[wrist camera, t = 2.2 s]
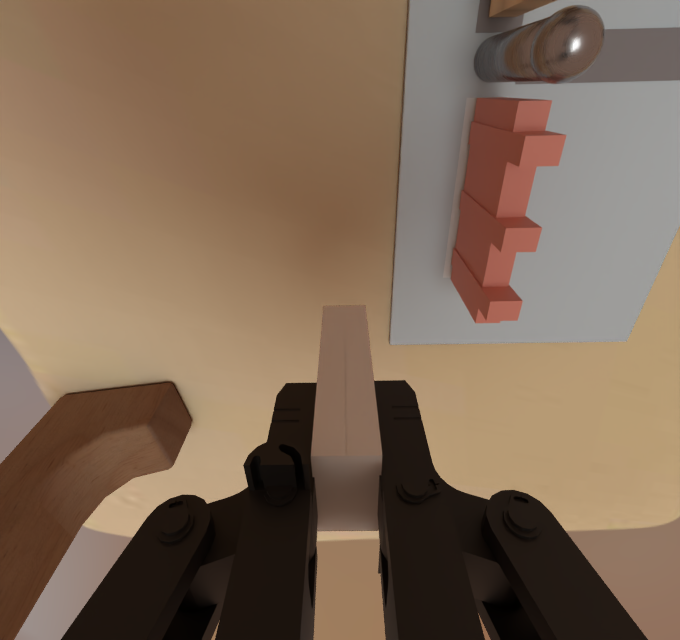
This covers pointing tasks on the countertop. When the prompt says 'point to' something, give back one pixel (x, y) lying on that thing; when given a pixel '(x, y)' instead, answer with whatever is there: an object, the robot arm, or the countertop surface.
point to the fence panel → (500, 202)
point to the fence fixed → (514, 7)
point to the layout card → (542, 176)
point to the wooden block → (76, 479)
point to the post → (543, 48)
